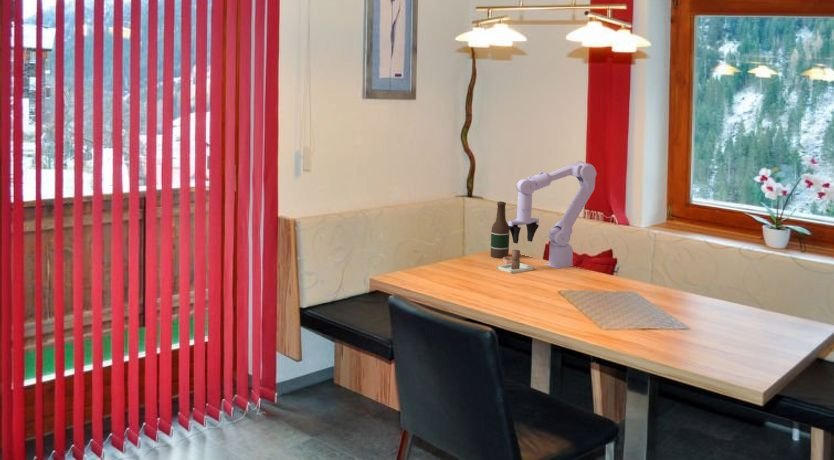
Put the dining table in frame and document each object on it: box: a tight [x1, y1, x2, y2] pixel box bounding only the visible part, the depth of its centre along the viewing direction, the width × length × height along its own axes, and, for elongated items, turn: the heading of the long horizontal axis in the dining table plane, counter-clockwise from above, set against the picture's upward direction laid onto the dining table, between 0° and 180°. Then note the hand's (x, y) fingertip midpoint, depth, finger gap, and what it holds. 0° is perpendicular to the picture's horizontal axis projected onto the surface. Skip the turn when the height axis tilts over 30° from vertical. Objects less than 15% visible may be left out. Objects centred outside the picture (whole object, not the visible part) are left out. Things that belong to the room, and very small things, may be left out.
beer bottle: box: [490, 201, 511, 260], centre depth 374 cm, size 8×8×24 cm
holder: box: [502, 256, 512, 265], centre depth 364 cm, size 6×6×2 cm
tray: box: [496, 262, 535, 274], centre depth 354 cm, size 12×9×2 cm
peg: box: [511, 249, 521, 270], centre depth 354 cm, size 3×3×8 cm
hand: (522, 242), depth 358 cm, fingers open, 7 cm apart
